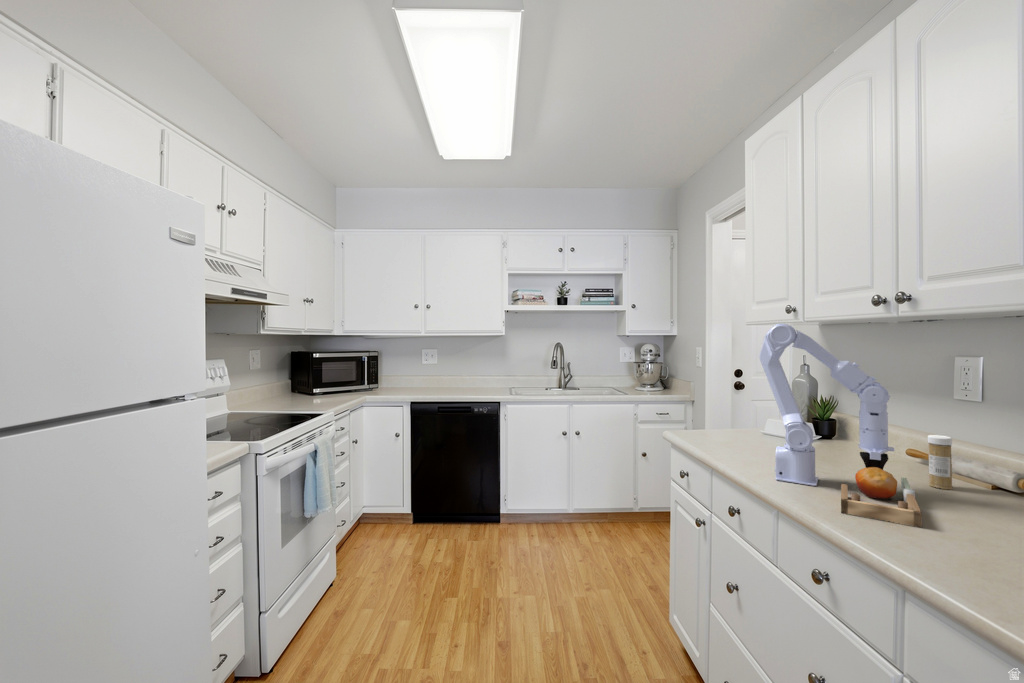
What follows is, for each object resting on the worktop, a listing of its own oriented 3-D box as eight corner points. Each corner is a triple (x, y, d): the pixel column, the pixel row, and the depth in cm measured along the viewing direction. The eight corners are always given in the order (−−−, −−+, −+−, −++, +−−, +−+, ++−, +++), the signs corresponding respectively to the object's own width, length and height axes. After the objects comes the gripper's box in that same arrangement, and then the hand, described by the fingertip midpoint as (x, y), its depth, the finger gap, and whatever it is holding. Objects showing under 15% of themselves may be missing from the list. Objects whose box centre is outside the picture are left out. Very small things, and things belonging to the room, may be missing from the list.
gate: (915, 506, 101) (915, 492, 101) (904, 504, 103) (904, 490, 103) (909, 490, 112) (908, 477, 112) (898, 489, 113) (898, 476, 113)
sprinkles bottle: (954, 487, 114) (954, 436, 114) (950, 491, 112) (949, 438, 112) (931, 483, 118) (930, 433, 118) (926, 486, 115) (925, 435, 115)
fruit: (883, 484, 113) (891, 462, 109) (897, 510, 106) (905, 487, 103) (846, 481, 115) (852, 460, 112) (857, 506, 109) (864, 484, 105)
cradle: (841, 513, 99) (840, 495, 99) (841, 495, 110) (841, 479, 110) (921, 527, 91) (921, 508, 91) (913, 507, 101) (913, 490, 101)
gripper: (896, 436, 104) (897, 492, 104) (891, 425, 116) (891, 476, 116) (859, 432, 109) (860, 487, 109) (857, 423, 120) (858, 472, 120)
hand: (874, 481), depth 113 cm, fingers closed
